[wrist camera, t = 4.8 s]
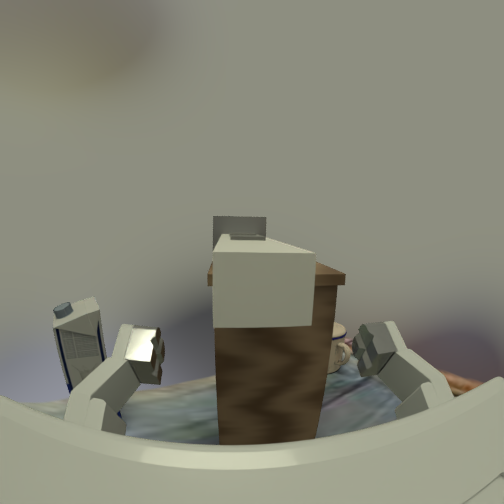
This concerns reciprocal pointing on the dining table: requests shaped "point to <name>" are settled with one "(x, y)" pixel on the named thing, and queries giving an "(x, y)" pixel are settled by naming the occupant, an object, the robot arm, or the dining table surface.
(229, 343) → the stand
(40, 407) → the dining table surface
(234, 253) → the power strip
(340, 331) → the teacup with lid
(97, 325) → the milk carton
